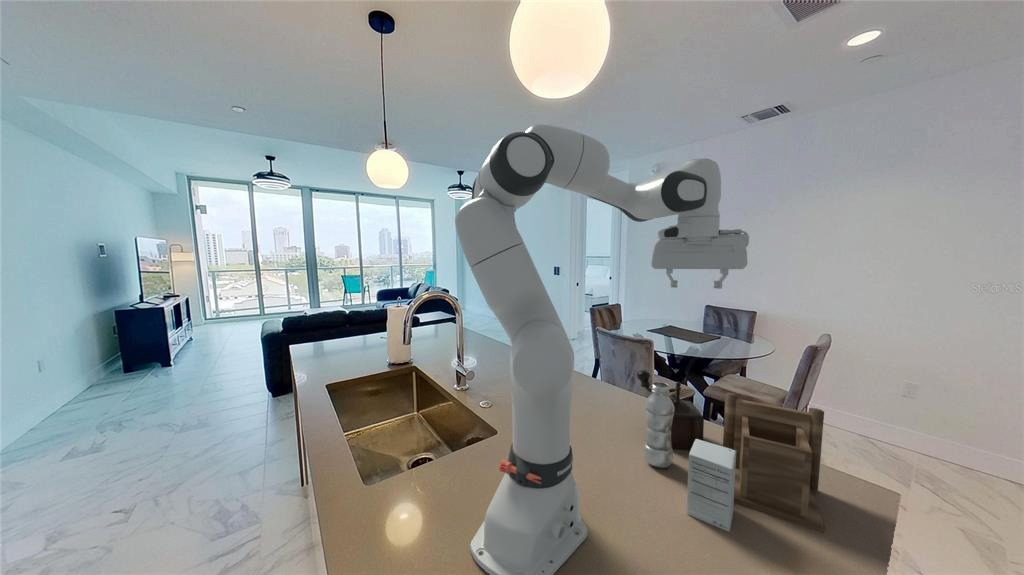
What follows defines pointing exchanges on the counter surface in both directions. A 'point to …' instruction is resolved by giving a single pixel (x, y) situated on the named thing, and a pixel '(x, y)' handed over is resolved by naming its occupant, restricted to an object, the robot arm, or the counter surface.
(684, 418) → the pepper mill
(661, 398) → the plastic bottle
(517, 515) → the robot arm
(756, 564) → the counter surface
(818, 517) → the caddy
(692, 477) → the supplement box
